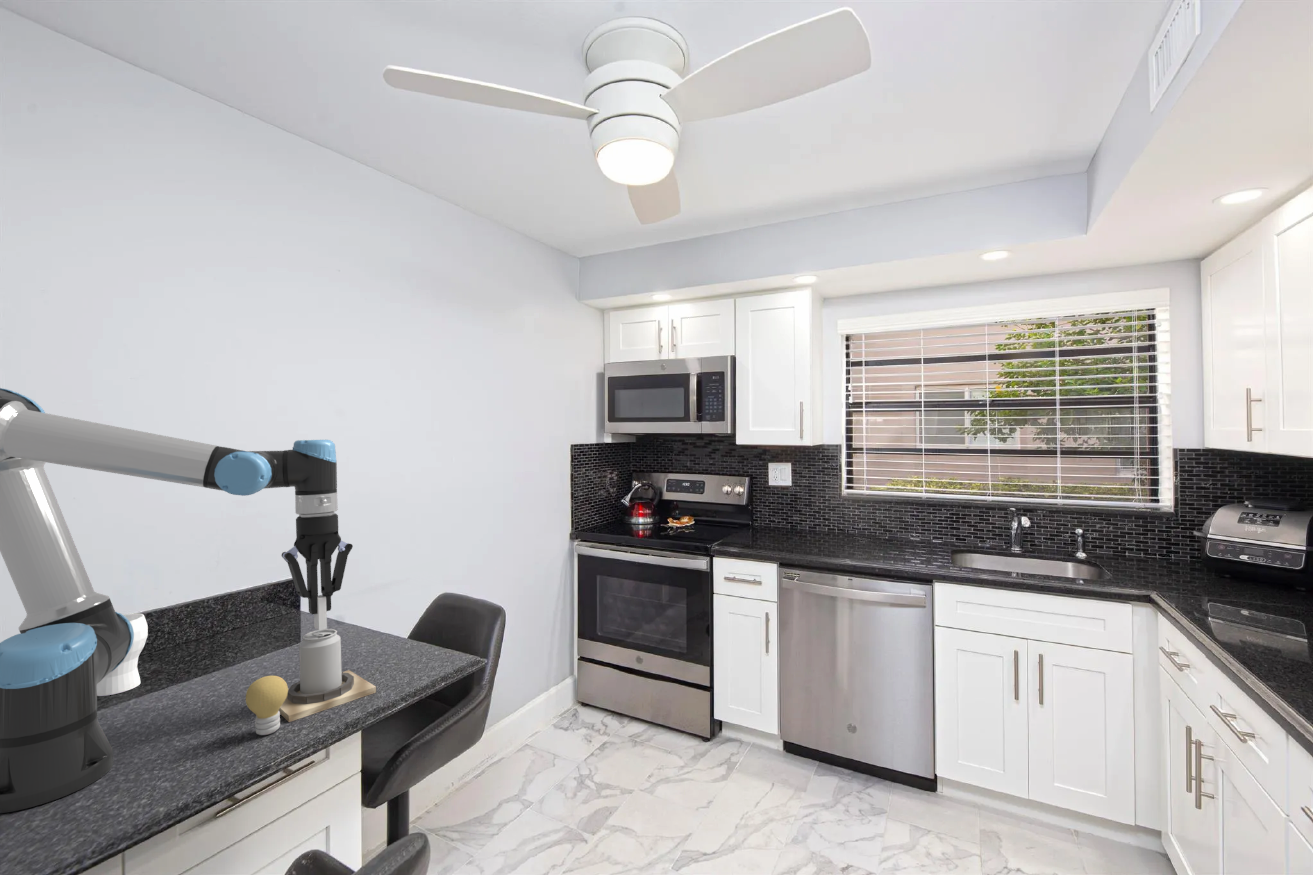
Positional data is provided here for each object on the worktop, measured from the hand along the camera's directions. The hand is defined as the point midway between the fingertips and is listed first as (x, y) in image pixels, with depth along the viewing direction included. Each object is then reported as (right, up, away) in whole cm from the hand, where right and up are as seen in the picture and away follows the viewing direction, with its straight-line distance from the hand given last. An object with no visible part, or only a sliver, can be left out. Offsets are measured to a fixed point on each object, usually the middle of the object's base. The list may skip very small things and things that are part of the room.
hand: (320, 628), depth 119 cm
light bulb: (-1, -15, -14) cm, 20 cm away
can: (0, -13, 0) cm, 13 cm away
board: (0, -14, 0) cm, 14 cm away
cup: (-48, -16, +7) cm, 51 cm away
